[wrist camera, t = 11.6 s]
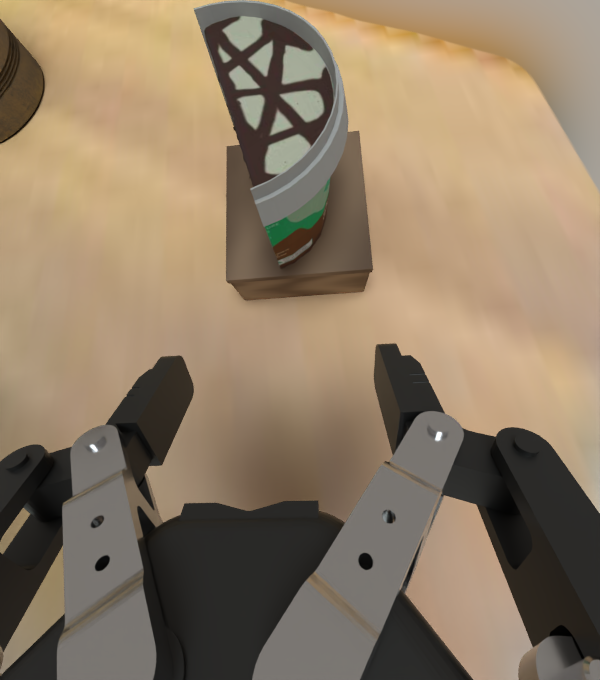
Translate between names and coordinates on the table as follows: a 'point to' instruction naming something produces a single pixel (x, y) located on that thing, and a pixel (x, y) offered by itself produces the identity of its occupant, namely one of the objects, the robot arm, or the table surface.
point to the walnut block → (327, 253)
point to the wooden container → (17, 84)
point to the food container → (280, 114)
